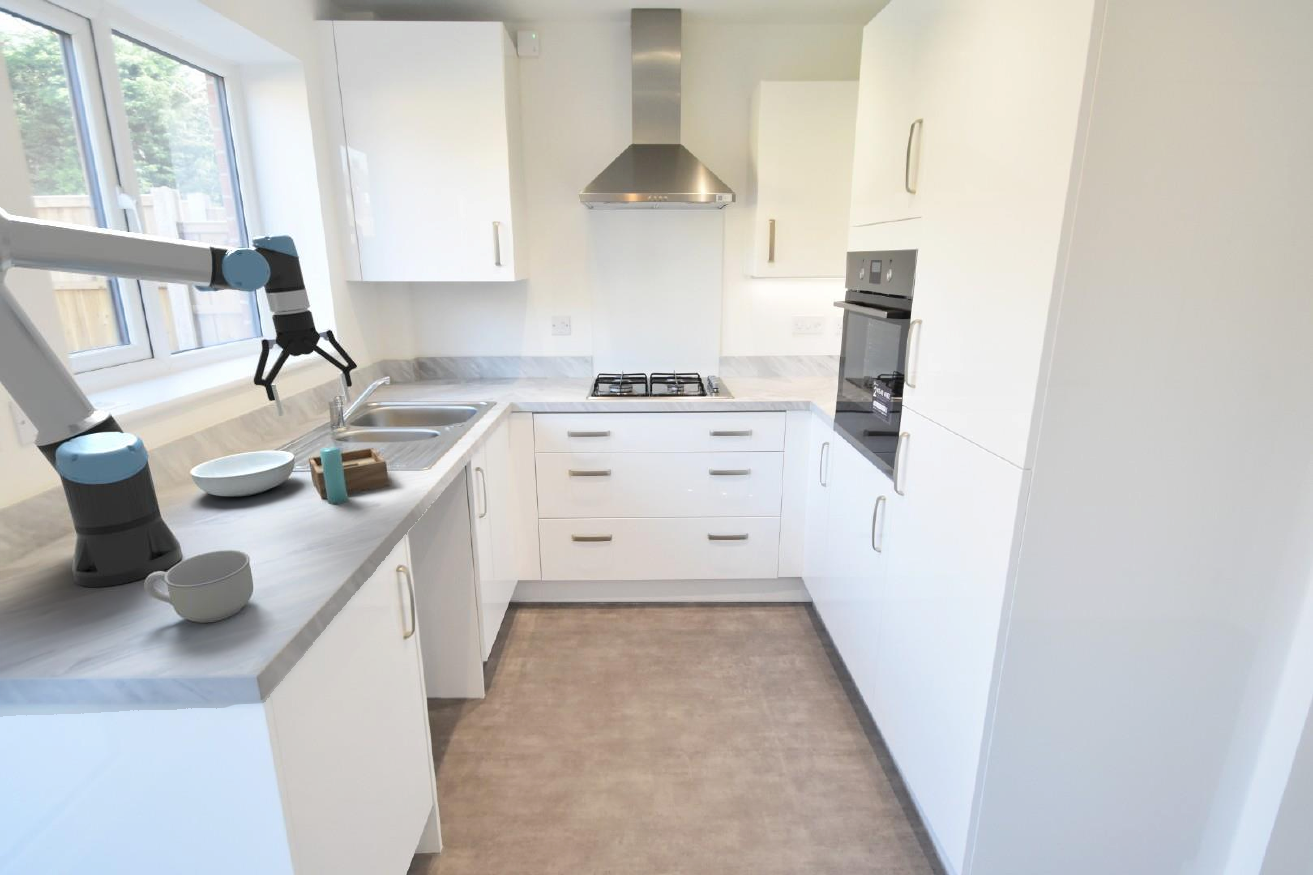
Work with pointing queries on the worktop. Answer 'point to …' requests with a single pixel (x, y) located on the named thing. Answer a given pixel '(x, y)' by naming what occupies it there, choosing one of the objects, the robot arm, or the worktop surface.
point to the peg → (333, 475)
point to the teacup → (206, 585)
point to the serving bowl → (243, 473)
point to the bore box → (354, 471)
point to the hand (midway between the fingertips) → (315, 407)
